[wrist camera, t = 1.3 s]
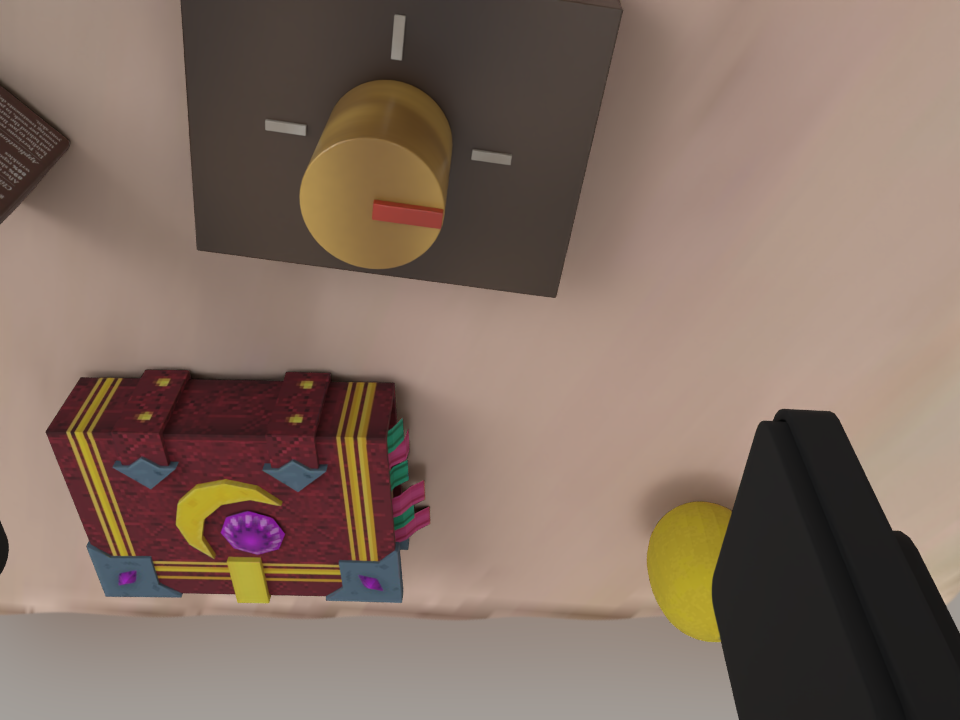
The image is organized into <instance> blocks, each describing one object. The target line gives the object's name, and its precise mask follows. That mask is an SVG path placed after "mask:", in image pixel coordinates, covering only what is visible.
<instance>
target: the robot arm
mask: <svg viewBox="0 0 960 720" xmlns="http://www.w3.org/2000/svg"><path fill="white" fill-rule="evenodd" d="M8 552H9V544H8V539H7V536H6V534H5V531H4V529H3V526H2V524H1V522H0V574H1V573H2V571H3V569H4V567H5V565H6V562H7V558H8ZM712 604H713V609H714V613H715V618H716V622H717V626H718V631H719V635H720V640H721V643H722V648H723V652H724V657H725V661H726V666H727V670H728V674H729V679H730V682H731V687H732V691H733V696H734V700H735V705H736V709H737V713H738V717H739V720H960V633H959V631H958V629H957V627H956V625H955V623H954V621H953V619H952V617H951V615H950V613H949V611H948V610H947V607H946V605H945V603H944V601H943V599H942V597H941V595H940V593H939V591H938V589H937V587H936V585H935V583H934V581H933V579H932V577H931V575H930V573H929V571H928V569H927V567H926V565H925V563H924V561H923V559H922V557H921V555H920V553H919V551H918V549H917V548H916V546H915V545H914V543H913V542H912V540H911V539H910V538H909V537H908V536H907V535H905V534H904V533H903V532H901V531H892V528H891V526H890V524H889V522H888V520H887V518H886V516H885V514H884V512H883V510H882V508H881V506H880V504H879V502H878V499H877V497H876V495H875V493H874V491H873V489H872V487H871V485H870V483H869V481H868V479H867V477H866V475H865V472H864V470H863V468H862V466H861V464H860V462H859V460H858V458H857V456H856V454H855V452H854V450H853V448H852V446H851V443H850V441H849V439H848V437H847V435H846V433H845V431H844V429H843V427H842V425H841V423H840V421H839V419H838V418H837V416H836V415H835V414H834V413H832V412H831V411H814V410H794V409H781V410H779V411H778V412H777V413H776V415H775V417H774V419H773V421H761V422H760V424H759V425H758V427H757V430H756V433H755V436H754V440H753V443H752V446H751V450H750V453H749V456H748V460H747V463H746V466H745V470H744V473H743V476H742V480H741V483H740V487H739V490H738V493H737V497H736V500H735V503H734V507H733V510H732V513H731V517H730V520H729V523H728V527H727V530H726V534H725V537H724V540H723V544H722V547H721V550H720V554H719V557H718V560H717V564H716V567H715V570H714V574H713V579H712Z"/></svg>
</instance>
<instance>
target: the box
mask: <svg viewBox="0 0 960 720" xmlns="http://www.w3.org/2000/svg"><path fill="white" fill-rule="evenodd" d="M69 146H70V141H69V140H68V139H66V138H65V137H64V136H63V135H61V134H60V133H59V132H57V131H56V130H55V129H54V128H52V127H51V126H50V125H49V124H47V123H46V122H45V121H44V120H42V119H41V118H40V117H39V116H37V115H36V114H35V113H34V112H33V111H31V110H30V109H29V108H28V107H26V106H25V105H24V104H23V103H21V102H20V101H19V100H18V99H16V98H15V97H14V96H13V95H12V94H10V93H9V92H8V91H7V90H5V89H4V88H3V87H2V86H0V224H1V223H2V222H3V221H4V220H5V219H6V218H7V217H8V216H9V215H10V214H11V213H12V212H13V211H14V210H15V209H16V208H17V207H18V206H19V205H20V204H21V202H22V201H23V200H24V199H25V198H26V197H27V196H28V195H29V193H30V192H31V191H32V190H33V189H34V188H35V186H36V185H37V184H38V183H39V182H40V181H41V179H42V178H43V177H44V176H45V175H46V174H47V172H48V171H49V170H50V169H51V168H52V167H53V166H54V164H55V163H56V162H57V161H58V160H59V159H60V158H61V157H62V156H63V155H64V153H65V152H66V151H67V150H68V148H69Z"/></svg>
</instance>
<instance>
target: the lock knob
mask: <svg viewBox="0 0 960 720" xmlns="http://www.w3.org/2000/svg"><path fill="white" fill-rule="evenodd" d="M452 145H453V143H452V134H451V129H450V126H449V123H448V120H447V119H446V117H445V115H444V113H443V111H442V110H441V108H440V107H439V106H438V105H437V103H436V102H435V101H434V100H433V99H432V98H431V97H429V96H428V95H427V94H426V93H424V92H423V91H421V90H420V89H418V88H416V87H414V86H412V85H409V84H407V83H404V82H399V81H395V80H376V81H370V82H367V83H364V84H361V85H359V86H357V87H355V88H353V89H352V90H350V91H349V92H347V93H346V94H345V95H344V96H343V97H342V98H341V99H340V100H339V101H338V103H337V104H336V105H335V107H334V109H333V110H332V112H331V115H330V117H329V119H328V121H327V124H326V126H325V128H324V131H323V133H322V135H321V137H320V140H319V142H318V144H317V146H316V149H315V151H314V153H313V155H312V158H311V160H310V162H309V164H308V167H307V169H306V171H305V174H304V176H303V179H302V182H301V186H300V195H299V197H300V208H301V213H302V216H303V219H304V222H305V224H306V226H307V228H308V230H309V231H310V233H311V234H312V236H313V237H314V239H315V240H316V241H317V242H318V243H319V244H320V245H321V246H322V247H323V248H324V249H325V250H326V251H328V252H329V253H330V254H332V255H333V256H335V257H336V258H338V259H340V260H342V261H344V262H346V263H349V264H351V265H354V266H358V267H362V268H368V269H388V268H394V267H398V266H402V265H404V264H407V263H409V262H411V261H413V260H415V259H416V258H418V257H420V256H421V255H422V254H423V253H425V252H426V251H427V250H428V249H429V248H430V247H431V245H432V244H433V243H434V241H435V240H436V238H437V237H438V235H439V233H440V230H441V228H442V225H443V220H444V215H445V207H446V198H447V190H448V182H449V173H450V165H451V157H452Z"/></svg>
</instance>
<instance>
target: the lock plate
mask: <svg viewBox="0 0 960 720" xmlns="http://www.w3.org/2000/svg"><path fill="white" fill-rule="evenodd" d="M622 13H623V9H622V7H621V4H620V2H619V0H181V14H182V29H183V44H184V60H185V75H186V90H187V106H188V121H189V136H190V152H191V167H192V183H193V198H194V213H195V229H196V244H197V250H200V251H207V252H215V253H222V254H230V255H237V256H245V257H252V258H260V259H267V260H275V261H282V262H290V263H297V264H305V265H312V266H320V267H327V268H334V269H342V270H349V271H357V272H364V273H372V274H379V275H387V276H394V277H402V278H409V279H417V280H424V281H432V282H439V283H447V284H454V285H462V286H469V287H477V288H484V289H492V290H499V291H507V292H514V293H522V294H529V295H537V296H544V297H552V298H556V296H557V291H558V287H559V283H560V279H561V274H562V270H563V266H564V261H565V257H566V253H567V249H568V244H569V240H570V236H571V231H572V227H573V223H574V219H575V214H576V210H577V206H578V201H579V197H580V193H581V189H582V184H583V180H584V176H585V171H586V167H587V163H588V158H589V154H590V150H591V146H592V141H593V137H594V133H595V128H596V124H597V120H598V116H599V111H600V107H601V103H602V98H603V94H604V90H605V86H606V81H607V77H608V73H609V68H610V64H611V60H612V55H613V51H614V47H615V43H616V38H617V34H618V30H619V25H620V21H621V17H622ZM376 80H395V81H399V82H404V83H407V84H409V85H412V86H414V87H416V88H418V89H420V90H421V91H423V92H424V93H426V94H427V95H428V96H429V97H431V98H432V99H433V100H434V101H435V102H436V103H437V105H438V106H439V107H440V108H441V110H442V111H443V113H444V115H445V117H446V119H447V120H448V123H449V126H450V129H451V134H452V143H453V145H452V157H451V165H450V173H449V182H448V190H447V198H446V207H445V215H444V220H443V225H442V228H441V230H440V233H439V235H438V237H437V238H436V240H435V241H434V243H433V244H432V245H431V247H430V248H429V249H428V250H427V251H426V252H425V253H423V254H422V255H421V256H420V257H418V258H416V259H415V260H413V261H411V262H409V263H407V264H404V265H402V266H398V267H394V268H388V269H368V268H362V267H358V266H354V265H351V264H349V263H346V262H344V261H342V260H340V259H338V258H336V257H335V256H333V255H332V254H330V253H329V252H328V251H326V250H325V249H324V248H323V247H322V246H321V245H320V244H319V243H318V242H317V241H316V240H315V239H314V237H313V236H312V234H311V233H310V231H309V230H308V228H307V226H306V224H305V222H304V219H303V216H302V213H301V208H300V197H299V195H300V186H301V182H302V179H303V176H304V174H305V171H306V169H307V167H308V164H309V162H310V160H311V158H312V155H313V153H314V151H315V149H316V146H317V144H318V142H319V140H320V137H321V135H322V133H323V131H324V128H325V126H326V124H327V121H328V119H329V117H330V115H331V112H332V110H333V109H334V107H335V105H336V104H337V103H338V101H339V100H340V99H341V98H342V97H343V96H344V95H345V94H346V93H347V92H349V91H350V90H352V89H353V88H355V87H357V86H359V85H361V84H364V83H367V82H370V81H376Z"/></svg>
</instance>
